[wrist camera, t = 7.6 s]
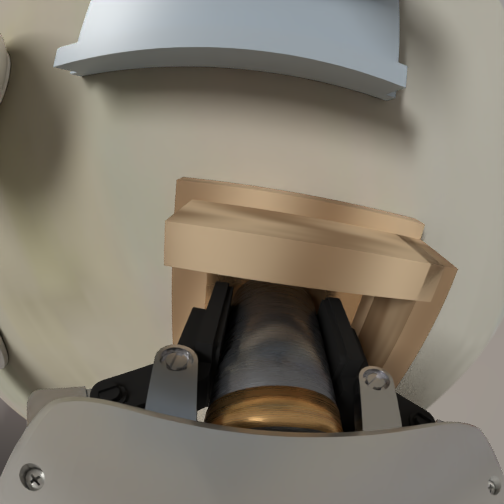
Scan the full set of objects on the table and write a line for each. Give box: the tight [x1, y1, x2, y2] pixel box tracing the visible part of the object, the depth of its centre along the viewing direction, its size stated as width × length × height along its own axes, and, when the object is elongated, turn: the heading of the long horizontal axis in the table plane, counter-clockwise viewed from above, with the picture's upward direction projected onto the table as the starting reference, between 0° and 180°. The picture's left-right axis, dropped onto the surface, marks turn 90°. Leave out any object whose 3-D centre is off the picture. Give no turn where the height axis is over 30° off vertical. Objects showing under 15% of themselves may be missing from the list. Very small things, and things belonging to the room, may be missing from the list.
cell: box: [204, 280, 343, 433], centre depth 9 cm, size 4×4×8 cm
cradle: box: [164, 177, 458, 388], centre depth 12 cm, size 12×10×4 cm
